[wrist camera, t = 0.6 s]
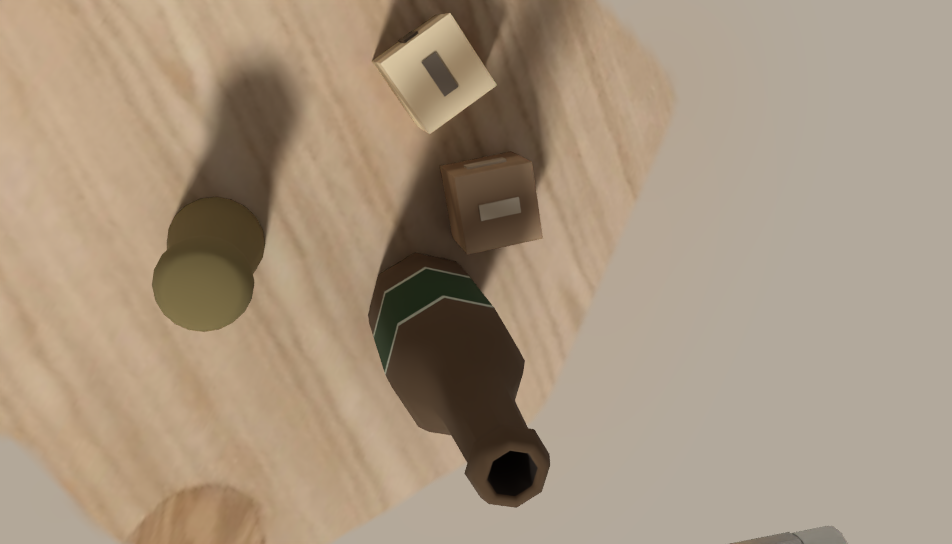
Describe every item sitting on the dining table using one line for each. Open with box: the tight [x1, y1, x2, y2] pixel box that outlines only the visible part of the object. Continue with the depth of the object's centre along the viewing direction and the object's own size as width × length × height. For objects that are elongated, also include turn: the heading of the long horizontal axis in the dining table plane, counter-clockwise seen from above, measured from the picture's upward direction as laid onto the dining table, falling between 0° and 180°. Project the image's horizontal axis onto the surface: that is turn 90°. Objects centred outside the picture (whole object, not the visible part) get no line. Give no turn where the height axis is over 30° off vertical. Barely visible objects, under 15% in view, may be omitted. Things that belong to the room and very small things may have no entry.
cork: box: [152, 197, 265, 332], centre depth 48 cm, size 6×6×11 cm
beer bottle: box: [368, 253, 550, 507], centre depth 46 cm, size 8×8×24 cm
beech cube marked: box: [372, 13, 497, 134], centre depth 51 cm, size 5×5×5 cm
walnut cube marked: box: [440, 152, 543, 255], centre depth 54 cm, size 5×5×5 cm
